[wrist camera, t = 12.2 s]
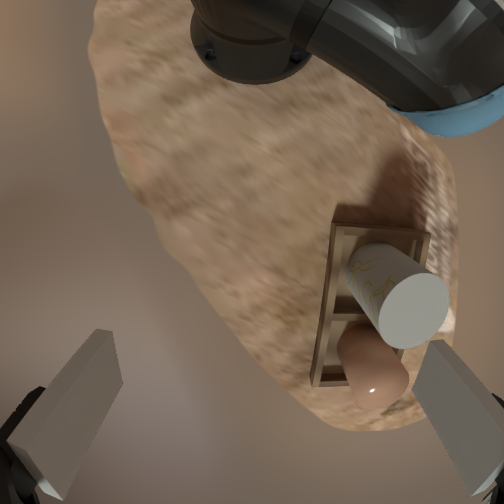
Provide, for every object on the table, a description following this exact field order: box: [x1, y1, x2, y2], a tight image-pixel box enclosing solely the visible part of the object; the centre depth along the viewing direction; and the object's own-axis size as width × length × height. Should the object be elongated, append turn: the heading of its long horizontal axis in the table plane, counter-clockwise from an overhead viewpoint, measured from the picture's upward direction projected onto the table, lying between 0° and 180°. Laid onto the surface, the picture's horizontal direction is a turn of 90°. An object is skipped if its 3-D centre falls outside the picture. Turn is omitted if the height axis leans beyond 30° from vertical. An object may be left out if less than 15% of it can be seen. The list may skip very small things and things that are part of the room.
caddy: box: [310, 222, 431, 387], centre depth 39 cm, size 23×13×2 cm, turn 177°
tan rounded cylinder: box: [337, 324, 409, 410], centre depth 36 cm, size 7×7×10 cm
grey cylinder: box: [345, 241, 449, 349], centre depth 32 cm, size 8×8×12 cm
